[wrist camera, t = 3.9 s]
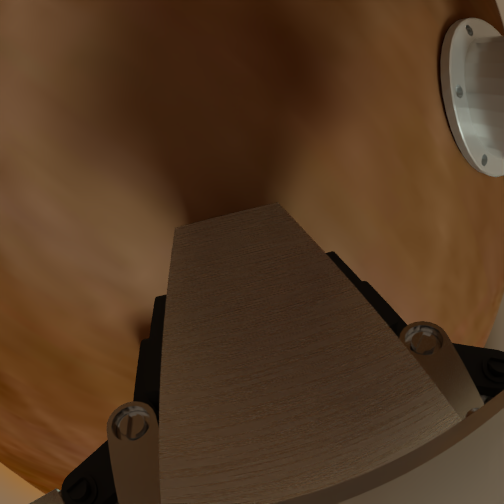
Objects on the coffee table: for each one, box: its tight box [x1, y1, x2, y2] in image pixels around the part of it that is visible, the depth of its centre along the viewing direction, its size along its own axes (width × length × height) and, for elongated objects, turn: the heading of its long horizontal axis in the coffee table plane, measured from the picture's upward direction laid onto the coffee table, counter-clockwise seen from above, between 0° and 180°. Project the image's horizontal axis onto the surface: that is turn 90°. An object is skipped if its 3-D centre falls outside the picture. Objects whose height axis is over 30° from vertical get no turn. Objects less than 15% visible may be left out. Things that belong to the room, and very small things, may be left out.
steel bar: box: [159, 202, 462, 504], centre depth 8 cm, size 4×4×11 cm
